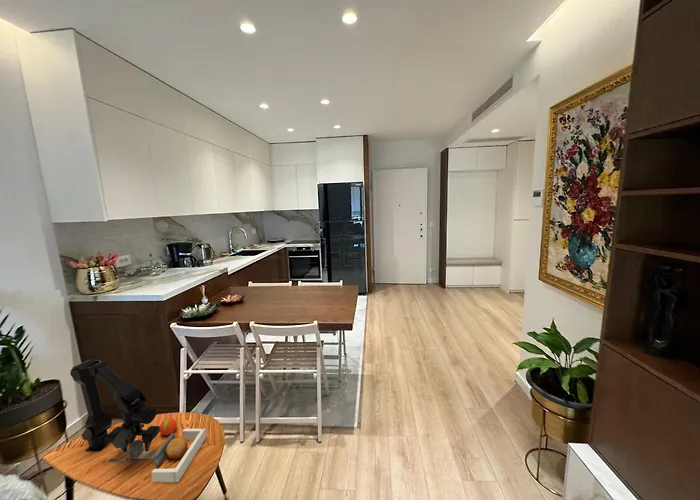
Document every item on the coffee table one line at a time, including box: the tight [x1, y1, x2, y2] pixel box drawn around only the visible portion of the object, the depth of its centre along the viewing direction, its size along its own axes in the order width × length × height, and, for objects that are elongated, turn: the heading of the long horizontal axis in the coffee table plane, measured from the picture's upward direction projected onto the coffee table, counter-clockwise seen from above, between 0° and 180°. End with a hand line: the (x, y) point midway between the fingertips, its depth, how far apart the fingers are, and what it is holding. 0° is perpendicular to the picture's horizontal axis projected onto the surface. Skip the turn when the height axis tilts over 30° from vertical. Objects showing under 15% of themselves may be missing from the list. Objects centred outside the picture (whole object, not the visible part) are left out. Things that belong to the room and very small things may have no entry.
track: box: [107, 448, 150, 463], centre depth 124 cm, size 13×6×1 cm, turn 90°
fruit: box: [165, 436, 188, 460], centre depth 124 cm, size 8×8×8 cm
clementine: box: [159, 417, 177, 436], centre depth 135 cm, size 8×7×7 cm
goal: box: [151, 428, 207, 483], centre depth 122 cm, size 10×22×4 cm, turn 0°
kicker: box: [127, 432, 176, 467], centre depth 123 cm, size 15×12×6 cm
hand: (136, 451), depth 123 cm, fingers open, 9 cm apart
